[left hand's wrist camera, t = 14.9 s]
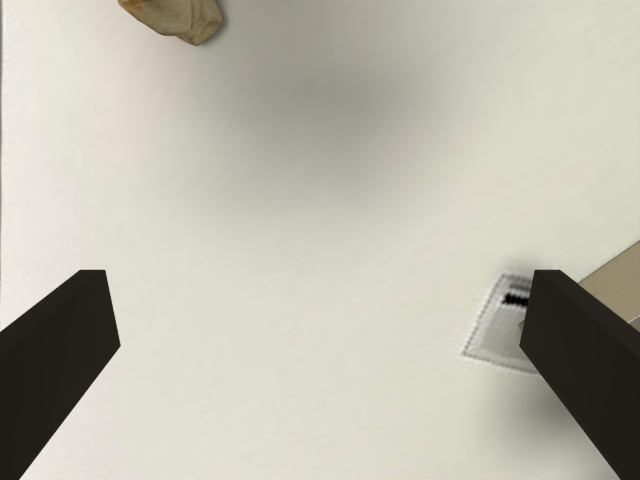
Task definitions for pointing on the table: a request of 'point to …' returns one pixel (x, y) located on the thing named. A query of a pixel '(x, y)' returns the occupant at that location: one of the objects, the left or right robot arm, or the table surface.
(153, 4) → the sculpture
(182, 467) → the table surface
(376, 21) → the table surface
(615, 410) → the left robot arm
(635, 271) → the bar
